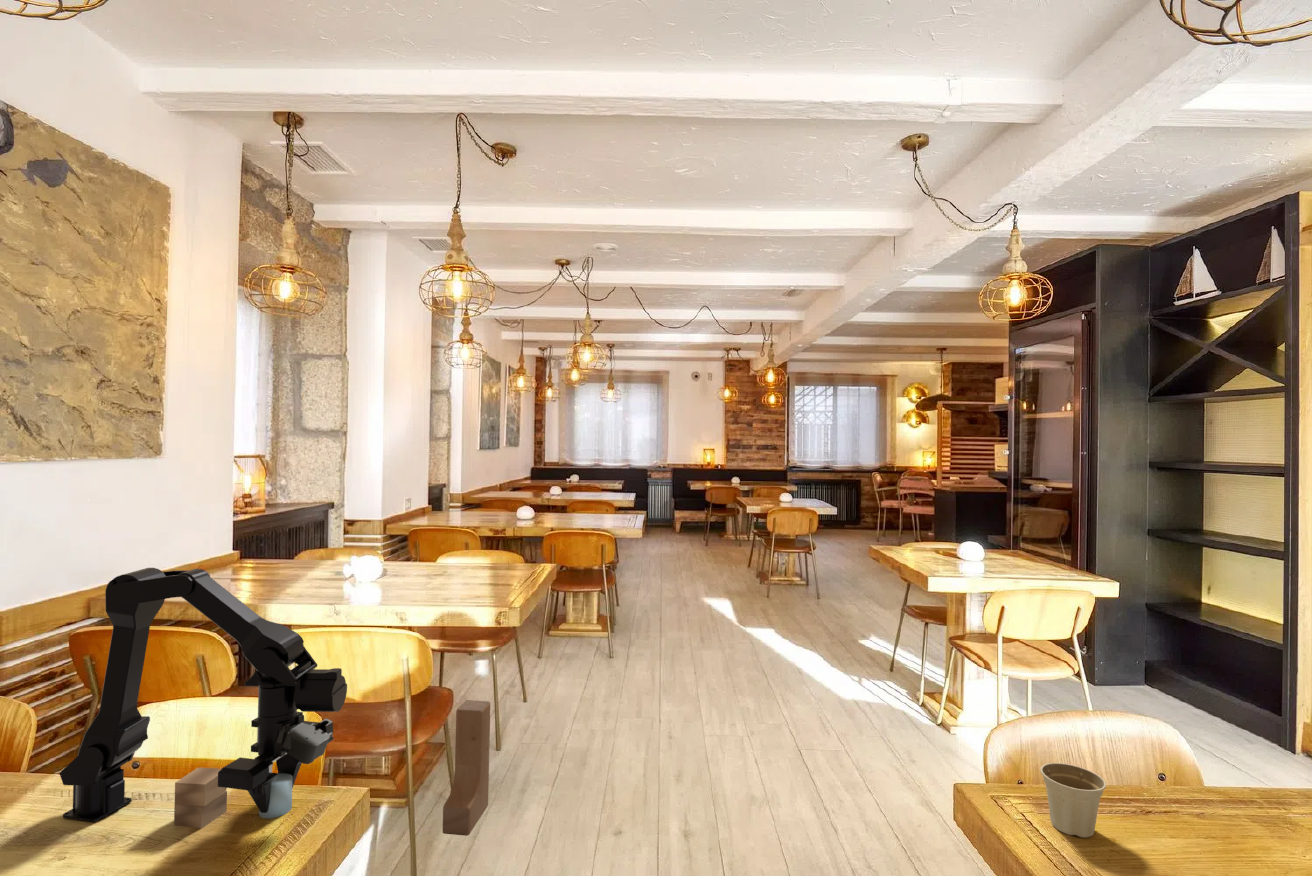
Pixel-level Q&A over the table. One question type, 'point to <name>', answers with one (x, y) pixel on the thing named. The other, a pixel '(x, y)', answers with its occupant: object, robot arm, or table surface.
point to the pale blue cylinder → (279, 796)
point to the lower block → (200, 813)
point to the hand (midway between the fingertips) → (275, 803)
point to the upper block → (198, 787)
